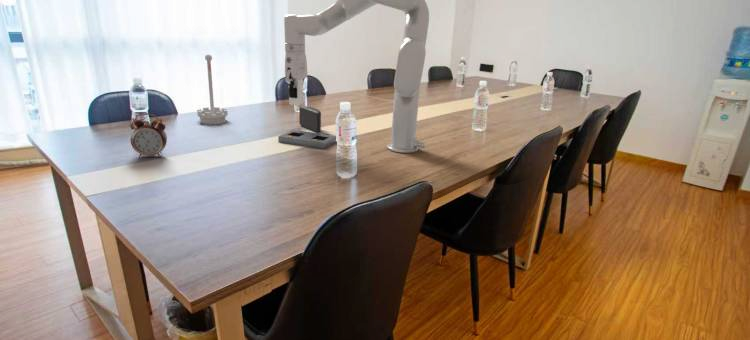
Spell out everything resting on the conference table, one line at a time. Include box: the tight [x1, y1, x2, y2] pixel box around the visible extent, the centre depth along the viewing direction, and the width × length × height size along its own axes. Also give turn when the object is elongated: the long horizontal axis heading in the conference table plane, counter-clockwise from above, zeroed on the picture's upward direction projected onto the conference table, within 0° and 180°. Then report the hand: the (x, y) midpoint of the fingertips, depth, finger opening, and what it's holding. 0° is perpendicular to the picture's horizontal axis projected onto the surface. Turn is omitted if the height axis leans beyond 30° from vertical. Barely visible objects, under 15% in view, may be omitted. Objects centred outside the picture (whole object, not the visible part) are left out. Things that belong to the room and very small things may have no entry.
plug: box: [288, 78, 304, 106], centre depth 169 cm, size 5×4×11 cm
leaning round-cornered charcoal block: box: [298, 105, 322, 134], centre depth 193 cm, size 16×5×9 cm, turn 39°
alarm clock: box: [129, 113, 168, 159], centre depth 145 cm, size 11×5×15 cm, turn 105°
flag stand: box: [196, 54, 228, 125], centre depth 194 cm, size 13×13×30 cm
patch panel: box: [278, 129, 337, 150], centre depth 174 cm, size 20×12×3 cm, turn 71°
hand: (296, 96), depth 170 cm, fingers closed on plug, 4 cm apart
